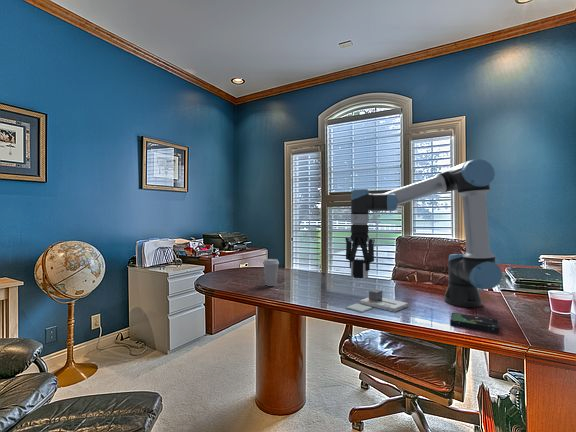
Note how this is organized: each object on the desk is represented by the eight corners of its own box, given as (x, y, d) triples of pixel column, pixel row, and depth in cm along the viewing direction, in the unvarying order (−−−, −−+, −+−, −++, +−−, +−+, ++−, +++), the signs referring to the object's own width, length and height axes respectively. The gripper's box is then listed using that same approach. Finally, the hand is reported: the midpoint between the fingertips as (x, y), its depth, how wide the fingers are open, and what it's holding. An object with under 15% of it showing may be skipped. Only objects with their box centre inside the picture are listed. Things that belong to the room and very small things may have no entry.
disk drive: (496, 326, 110) (451, 318, 118) (496, 319, 110) (451, 311, 118) (499, 336, 101) (450, 326, 109) (499, 327, 101) (450, 319, 109)
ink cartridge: (365, 277, 129) (365, 259, 129) (365, 278, 127) (365, 260, 127) (353, 276, 130) (353, 258, 131) (353, 277, 128) (353, 259, 128)
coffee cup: (264, 283, 176) (264, 258, 176) (280, 284, 175) (280, 258, 175) (261, 287, 167) (261, 260, 167) (277, 287, 165) (277, 261, 166)
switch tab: (382, 299, 137) (382, 290, 138) (376, 301, 134) (376, 292, 134) (374, 297, 140) (374, 289, 140) (368, 299, 137) (369, 291, 137)
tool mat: (372, 308, 128) (372, 307, 128) (362, 312, 123) (362, 311, 123) (356, 304, 134) (356, 303, 134) (346, 308, 129) (346, 306, 129)
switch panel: (407, 306, 132) (407, 302, 132) (395, 312, 124) (395, 308, 124) (373, 298, 145) (373, 295, 145) (360, 303, 136) (360, 300, 136)
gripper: (337, 223, 133) (337, 275, 133) (374, 224, 120) (373, 281, 119) (347, 223, 138) (346, 273, 138) (383, 224, 125) (383, 279, 125)
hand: (359, 277), depth 129 cm, fingers closed on ink cartridge, 5 cm apart
